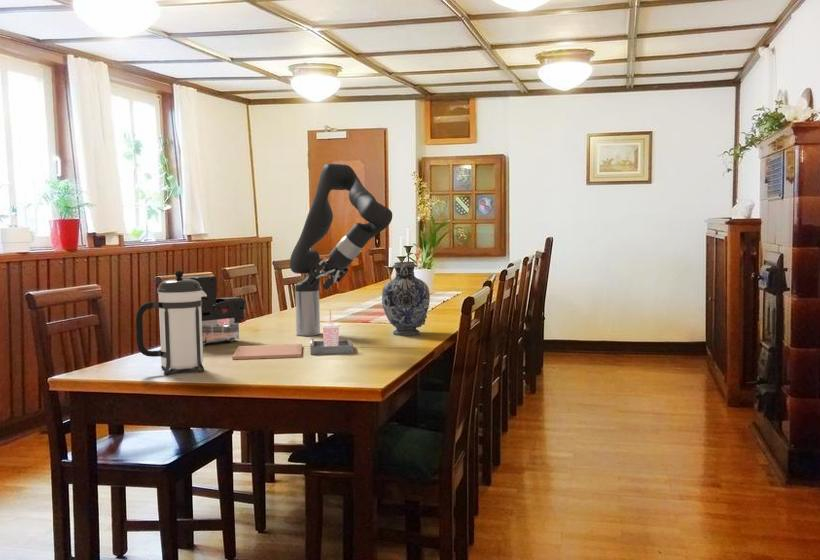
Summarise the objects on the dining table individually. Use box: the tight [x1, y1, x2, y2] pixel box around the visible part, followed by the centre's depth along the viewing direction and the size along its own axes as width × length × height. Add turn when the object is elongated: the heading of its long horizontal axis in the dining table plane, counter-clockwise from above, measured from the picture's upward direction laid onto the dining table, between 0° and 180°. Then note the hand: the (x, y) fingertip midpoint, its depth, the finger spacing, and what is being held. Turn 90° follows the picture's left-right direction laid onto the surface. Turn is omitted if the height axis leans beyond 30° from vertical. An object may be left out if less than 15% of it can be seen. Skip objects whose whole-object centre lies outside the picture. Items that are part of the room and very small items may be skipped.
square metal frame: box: [309, 337, 354, 356], centre depth 265 cm, size 14×14×4 cm
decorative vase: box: [381, 261, 431, 337], centre depth 302 cm, size 21×19×28 cm
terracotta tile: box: [231, 343, 303, 360], centre depth 262 cm, size 22×22×1 cm
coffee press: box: [135, 270, 207, 376], centre depth 231 cm, size 17×16×30 cm
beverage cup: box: [321, 309, 340, 346], centre depth 264 cm, size 6×6×14 cm
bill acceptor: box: [181, 275, 246, 347], centre depth 286 cm, size 10×23×25 cm, turn 129°
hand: (316, 286), depth 263 cm, fingers open, 8 cm apart
